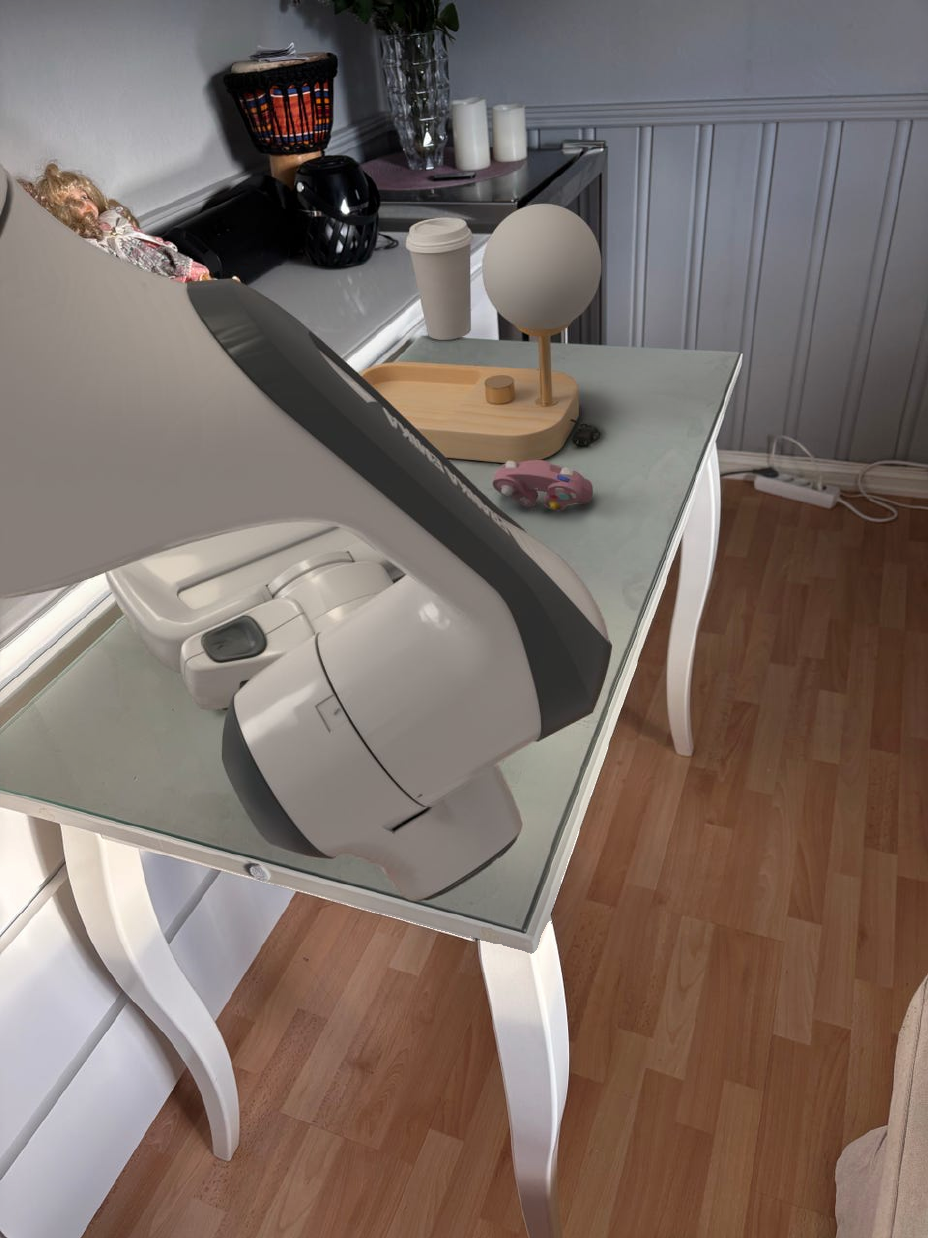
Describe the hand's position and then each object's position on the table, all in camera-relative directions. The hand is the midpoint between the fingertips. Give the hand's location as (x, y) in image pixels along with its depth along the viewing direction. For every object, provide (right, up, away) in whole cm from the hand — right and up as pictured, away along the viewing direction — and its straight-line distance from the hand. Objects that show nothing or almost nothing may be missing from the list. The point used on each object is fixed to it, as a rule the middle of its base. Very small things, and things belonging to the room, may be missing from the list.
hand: (229, 448), depth 57 cm
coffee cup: (+13, +32, +78) cm, 85 cm away
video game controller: (+23, +1, +39) cm, 45 cm away
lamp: (+15, +13, +55) cm, 58 cm away
